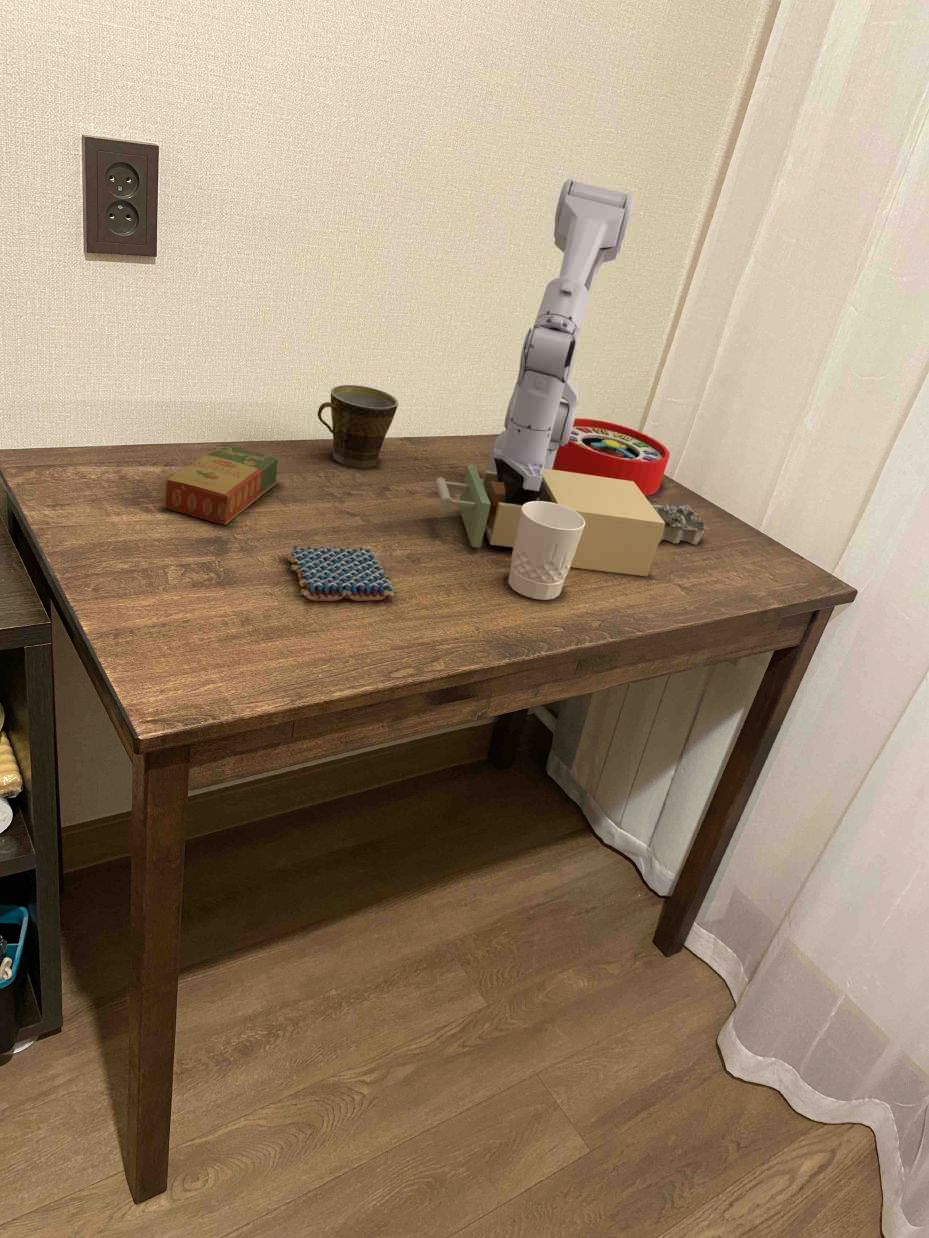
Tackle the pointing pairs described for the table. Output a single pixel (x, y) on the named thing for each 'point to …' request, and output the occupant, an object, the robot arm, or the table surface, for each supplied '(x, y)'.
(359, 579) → the woven mat
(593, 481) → the shallow tan box
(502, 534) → the drawer
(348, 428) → the ceramic cup
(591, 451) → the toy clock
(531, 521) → the white cup
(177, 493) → the carton
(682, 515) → the egg carton
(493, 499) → the packet
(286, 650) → the table surface
